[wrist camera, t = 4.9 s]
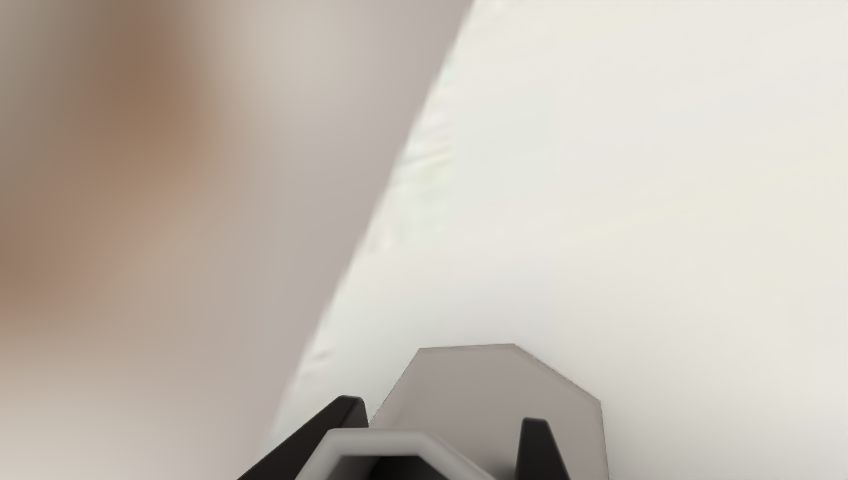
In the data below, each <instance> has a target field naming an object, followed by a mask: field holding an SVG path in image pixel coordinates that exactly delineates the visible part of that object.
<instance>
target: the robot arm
mask: <svg viewBox="0 0 848 480" xmlns="http://www.w3.org/2000/svg"><path fill="white" fill-rule="evenodd" d="M334 428H369V425H368V420H367V415H366V409H365V404H364V401H363V399H362V398H360V397H356V396H347V395H341V396H339V397H337V398H336V399H335V400H334V401H332V402H331V403H330V404H329V405H327V406H326V407H325V408H324V409H323V410H321V411H320V412H319V413H318V414H316V415H315V416H314V417H313V418H312V419H310V420H309V421H308V422H307V423H305V424H304V425H303V426H302V427H301V428H299V429H298V430H297V431H296V432H294V433H293V434H292V435H291V436H290V437H288V438H287V439H286V440H285V441H284V442H282V443H281V444H280V445H279V446H277V447H276V448H275V449H274V450H273V451H271V452H270V453H269V454H268V455H266V456H265V457H264V458H263V459H262V460H260V461H259V462H258V463H257V464H255V465H254V466H253V467H252V468H251V469H249V470H248V471H247V472H246V473H244V474H243V475H242V476H241V477H240V478H238V479H237V480H295V479H296V477H297V476H298V474H299V473H300V471H301V470H302V468H303V467H304V465H305V464H306V462H307V461H308V459H309V458H310V457H311V455H312V454H313V452H314V451H315V449H316V448H317V446H318V445H319V443H320V442H321V440H322V439H323V437H324V436H325V434H326V433H327V431H328V430H331V429H334ZM514 480H571V478H570V476H569V473H568V471H567V468H566V465H565V463H564V460H563V458H562V455H561V453H560V450H559V448H558V445H557V443H556V440H555V438H554V435H553V432H552V430H551V427H550V425H549V423H548V421H547V420H546V419H541V418H533V417H524V418H523V419H522V423H521V430H520V438H519V445H518V452H517V459H516V467H515V476H514Z"/></svg>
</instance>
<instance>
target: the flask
mask: <svg viewBox="0 0 848 480" xmlns="http://www.w3.org/2000/svg"><path fill="white" fill-rule="evenodd" d="M524 417H533V418H541V419H546V420H547V421H548V423H549V425H550V427H551V430H552V432H553V435H554V438H555V440H556V443H557V445H558V448H559V450H560V453H561V455H562V458H563V460H564V463H565V465H566V468H567V471H568V473H569V476H570V478H571V480H609V474H608V465H607V457H606V448H605V439H604V431H603V422H602V413H601V405H600V401H599V400H597V399H596V398H594V397H593V396H591V395H590V394H588V393H587V392H585V391H584V390H582V389H581V388H579V387H578V386H576V385H575V384H573V383H572V382H570V381H569V380H567V379H566V378H564V377H563V376H561V375H560V374H558V373H557V372H555V371H554V370H552V369H551V368H549V367H548V366H546V365H545V364H543V363H542V362H540V361H539V360H537V359H536V358H534V357H533V356H531V355H530V354H528V353H527V352H525V351H524V350H522V349H521V348H519V347H518V346H516V345H515V344H496V345H476V346H457V347H437V348H420V349H419V350H418V352H417V353H416V355H415V356H414V358H413V359H412V361H411V362H410V364H409V365H408V367H407V368H406V370H405V371H404V373H403V374H402V376H401V377H400V379H399V380H398V382H397V383H396V385H395V386H394V388H393V389H392V391H391V392H390V394H389V395H388V397H387V398H386V400H385V401H384V403H383V404H382V406H381V407H380V409H379V410H378V412H377V413H376V415H375V416H374V417H373V419H372V420H371V422H370V423H369V428H334V429H331V430H328V431H327V433H326V434H325V436H324V437H323V439H322V440H321V442H320V443H319V445H318V446H317V448H316V449H315V451H314V452H313V454H312V455H311V457H310V458H309V459H308V461H307V462H306V464H305V465H304V467H303V468H302V470H301V471H300V473H299V474H298V476H297V477H296V479H295V480H514V476H515V467H516V459H517V452H518V445H519V438H520V430H521V423H522V419H523V418H524Z"/></svg>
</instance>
